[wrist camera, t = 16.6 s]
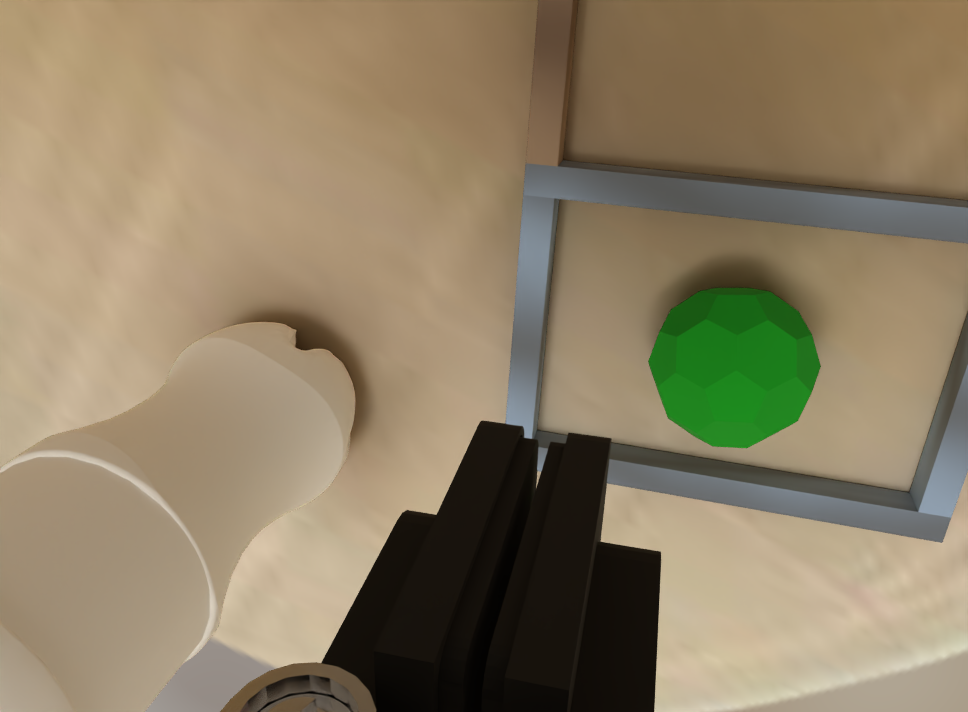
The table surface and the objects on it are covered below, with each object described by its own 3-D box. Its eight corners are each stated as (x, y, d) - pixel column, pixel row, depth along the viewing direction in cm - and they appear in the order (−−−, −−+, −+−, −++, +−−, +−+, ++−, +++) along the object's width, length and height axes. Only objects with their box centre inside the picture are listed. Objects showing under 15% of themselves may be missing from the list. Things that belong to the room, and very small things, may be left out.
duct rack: (562, -211, 22) (555, -223, 21) (1183, -206, 19) (1212, -220, 18) (509, 449, 30) (502, 464, 29) (932, 522, 27) (942, 542, 26)
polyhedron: (624, 350, 28) (611, 410, 23) (714, 237, 26) (719, 281, 21) (740, 430, 28) (749, 505, 24) (841, 326, 26) (870, 387, 21)
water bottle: (406, 371, 30) (-430, 1390, 8) (330, 497, 33) (-416, 1476, 11) (247, 268, 30) (-1060, 991, 8) (186, 405, 33) (-861, 1198, 11)
